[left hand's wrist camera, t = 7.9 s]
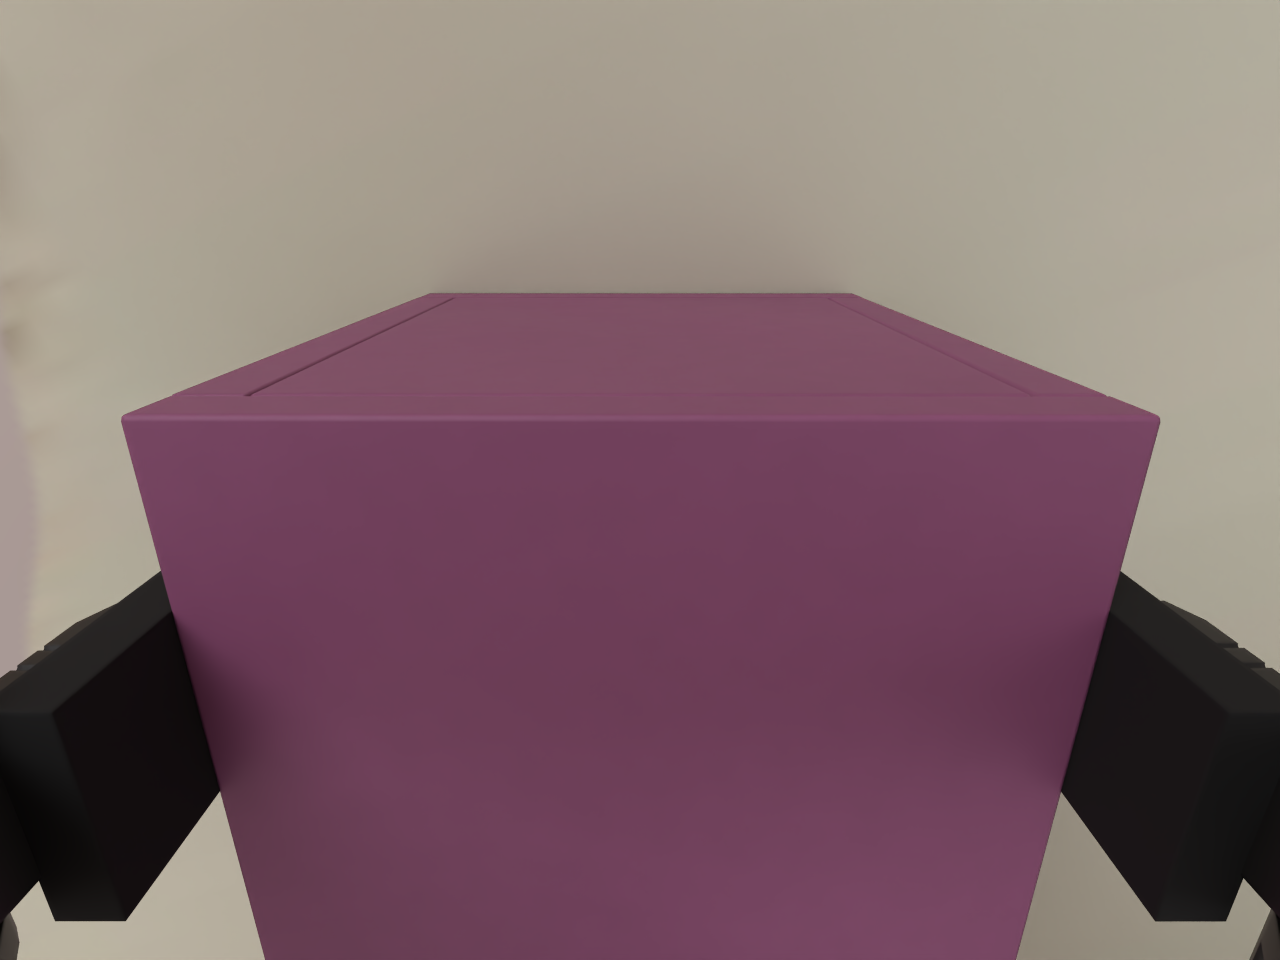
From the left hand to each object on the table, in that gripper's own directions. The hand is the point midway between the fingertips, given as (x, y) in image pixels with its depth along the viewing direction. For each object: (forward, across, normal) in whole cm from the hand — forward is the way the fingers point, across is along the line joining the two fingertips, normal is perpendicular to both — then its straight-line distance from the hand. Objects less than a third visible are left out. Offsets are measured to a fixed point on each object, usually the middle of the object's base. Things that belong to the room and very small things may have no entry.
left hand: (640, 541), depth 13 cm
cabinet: (+7, 0, -4) cm, 8 cm away
